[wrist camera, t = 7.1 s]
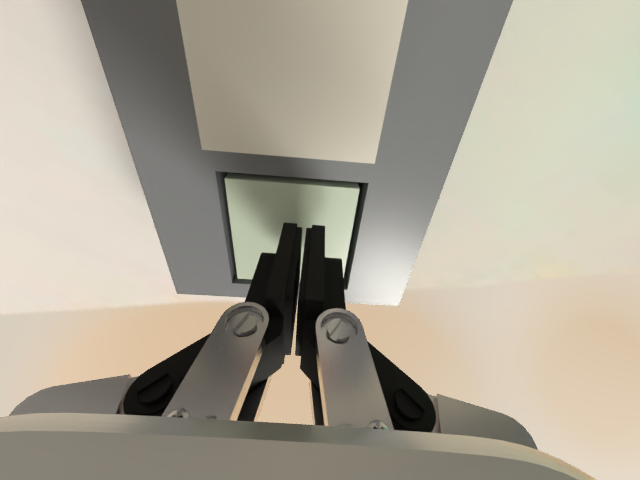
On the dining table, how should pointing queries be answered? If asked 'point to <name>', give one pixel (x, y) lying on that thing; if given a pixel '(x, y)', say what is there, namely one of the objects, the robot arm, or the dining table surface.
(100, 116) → the dining table surface
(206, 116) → the key cream
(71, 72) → the dining table surface
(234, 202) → the key sage
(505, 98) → the dining table surface
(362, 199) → the keypad
